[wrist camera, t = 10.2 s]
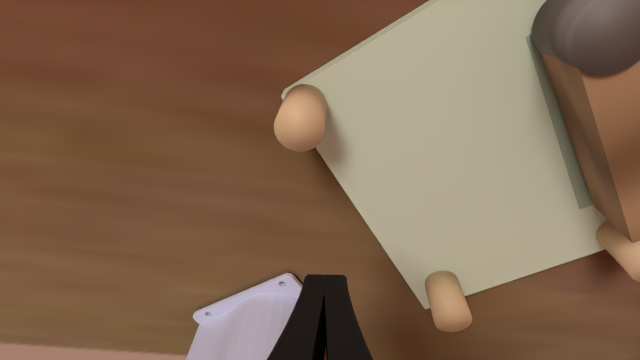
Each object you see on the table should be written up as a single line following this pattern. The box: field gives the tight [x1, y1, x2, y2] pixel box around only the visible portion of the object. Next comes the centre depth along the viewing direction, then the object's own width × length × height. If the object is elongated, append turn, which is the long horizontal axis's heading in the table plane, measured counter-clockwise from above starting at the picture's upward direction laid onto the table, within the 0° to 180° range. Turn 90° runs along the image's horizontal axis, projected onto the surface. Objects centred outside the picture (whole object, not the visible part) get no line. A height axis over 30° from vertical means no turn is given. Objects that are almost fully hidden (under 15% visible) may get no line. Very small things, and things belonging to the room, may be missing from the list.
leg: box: [532, 0, 640, 243], centre depth 16 cm, size 12×3×3 cm, turn 33°
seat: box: [274, 0, 640, 332], centre depth 19 cm, size 14×18×4 cm
